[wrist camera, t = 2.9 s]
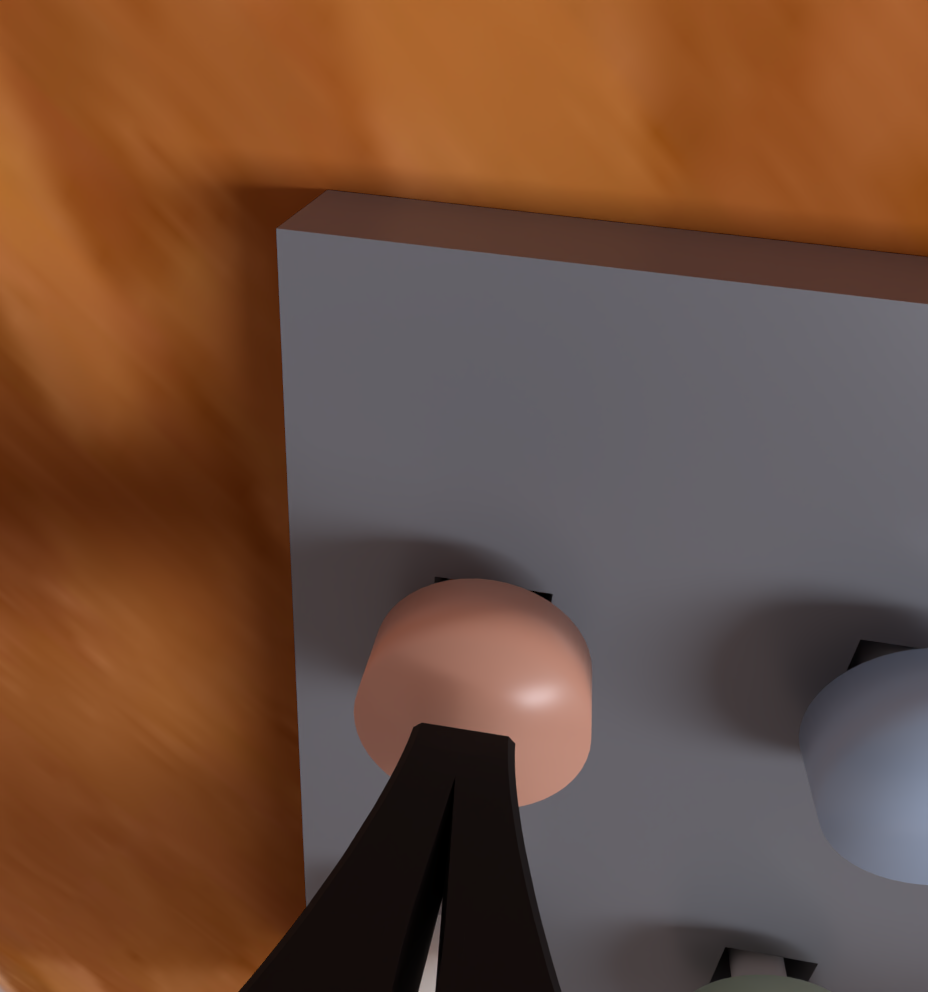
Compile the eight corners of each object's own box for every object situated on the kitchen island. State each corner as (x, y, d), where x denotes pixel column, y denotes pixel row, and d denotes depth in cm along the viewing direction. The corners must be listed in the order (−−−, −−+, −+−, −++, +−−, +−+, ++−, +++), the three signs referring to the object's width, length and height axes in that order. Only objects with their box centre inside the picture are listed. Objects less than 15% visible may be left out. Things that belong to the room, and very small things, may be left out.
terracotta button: (608, 518, 14) (610, 660, 11) (577, 669, 16) (572, 826, 13) (405, 490, 15) (353, 621, 12) (398, 642, 17) (353, 789, 14)
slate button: (1026, 577, 14) (1146, 743, 11) (944, 726, 16) (1026, 903, 13) (807, 546, 14) (864, 699, 11) (752, 696, 16) (787, 862, 13)
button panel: (1250, 292, 12) (1385, 357, 10) (808, 1034, 24) (828, 1135, 22) (327, 189, 13) (275, 228, 11) (336, 946, 25) (312, 1035, 23)
